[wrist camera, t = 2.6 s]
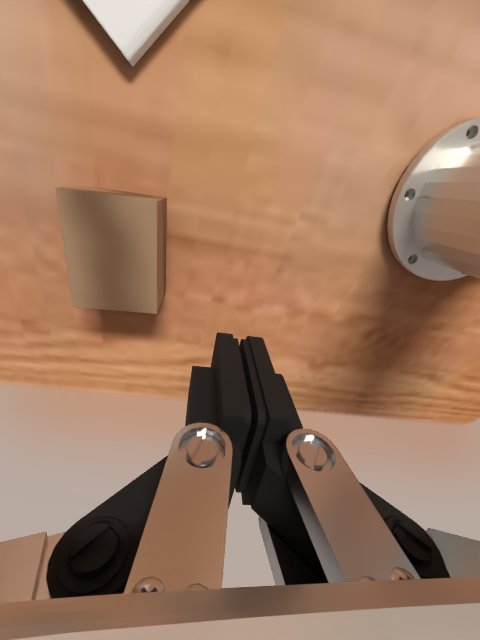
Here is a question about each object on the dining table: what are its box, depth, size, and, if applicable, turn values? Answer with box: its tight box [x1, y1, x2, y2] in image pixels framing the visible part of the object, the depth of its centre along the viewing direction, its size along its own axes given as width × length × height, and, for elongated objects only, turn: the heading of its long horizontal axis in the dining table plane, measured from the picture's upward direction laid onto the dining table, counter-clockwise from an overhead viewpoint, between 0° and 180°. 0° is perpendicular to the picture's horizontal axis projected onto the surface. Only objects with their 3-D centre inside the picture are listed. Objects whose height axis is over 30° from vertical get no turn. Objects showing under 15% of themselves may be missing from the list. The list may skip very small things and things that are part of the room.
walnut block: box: [55, 186, 167, 314], centre depth 21 cm, size 6×8×4 cm
